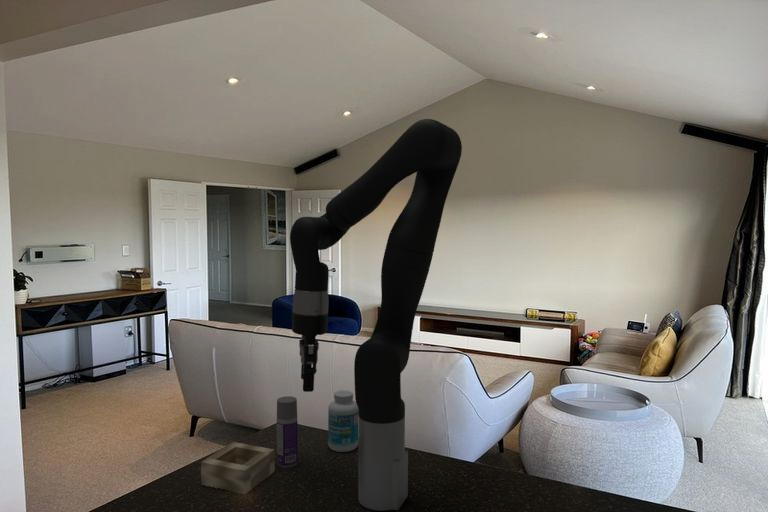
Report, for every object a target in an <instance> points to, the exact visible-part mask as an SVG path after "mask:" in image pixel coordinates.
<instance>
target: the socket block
mask: <svg viewBox="0 0 768 512" xmlns="http://www.w3.org/2000/svg"><path fill="white" fill-rule="evenodd" d="M275 451H276V450H275V449H274V448H268V447H262V446H257V445H251V444H247V443H243V442H241V443H240V442H236V441H232V442H231V443H229V444H227V445H226V446H225V447H223V448H221V449H220V450H218V451H216V452H214V453H213V454H212V455H210V456H208V457H207V458H205V459H203V460H201V461H200V475H201V476H200V480H201V481H200V482H201V483H200V484H201V486H204V485H205V487H209V486H210V487H211V488H213V487H214V488H213V489H218V488H220V489H219V490H222V489H225V490H224V491H227V490H228V492H231V491H232V492H233V493H236V492H237V493H236V494H240V493H241V494H240V495H247V494H248V493H249V492H250V491H252V490H253V489H254V488H256V487H257V486H258V485H260V484H261V483H262V482H263V481H265V480H266V479H267V478H269V477H270V476H271V475H272V474H273V473H275V471H276V468H275V467H276V463H275V460H276V459H275V458H276V457H275V454H276V453H275ZM265 478H266V479H265ZM260 482H261V483H260ZM210 487H209V488H210ZM232 492H231V493H232Z"/></svg>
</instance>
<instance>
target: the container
mask: <svg viewBox="0 0 768 512" xmlns="http://www.w3.org/2000/svg"><path fill="white" fill-rule="evenodd" d="M297 400H298V399H297V397H295V396H290V395H289V396H287V395H286V396H282V397H279V398H277V399H276V465H277V467H279V468H283V469H290V468H293V467H296V466H297V465H298V462H299V457H298V451H299V450H298V449H299V448H298V447H299V446H298V445H299V444H298V441H299V439H298V437H299V435H298V401H297Z"/></svg>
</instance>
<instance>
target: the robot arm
mask: <svg viewBox="0 0 768 512" xmlns="http://www.w3.org/2000/svg"><path fill="white" fill-rule="evenodd" d="M462 151H463V146H462V140H461V137H460V135H459V134H458V132H457V131H456V130H455V129H453V128H452V127H450V126H448V125H446V124H444V123H442V122H441V121H439V120H436V119H432V118H422V119H420V120H418V121H416V122H414V123H413V124H412V125H410V126H409V127H408V128H407V129H406V130H405V131H404V132H403V133H402V134H401V136H399V137H398V139H397V140H396V141H395V142H394V143H393V144H392V145H391V146H390V148H388V149H387V150H386V151H385V153H384V154H382V155H381V157H379V158H378V160H376V162H375V163H374V164H373V165H371V166H370V168H368V169H367V170H366V171H365V172H364V173H363V174H362V175H361V176H360V177H358V178H357V179H355V181H353V182H352V183H351V184H350V185H348V186H347V187H346V188H344V189H343V190H342V191H340V192H339V193H338V194H337V195H335V196H334V197H333V198H332V199H330V200H329V201H328V203H327V204H326V206H325V212H324V214H322V215H320V216H318V217H317V216H301V217H299V218H297V219H296V220H295V221H294V223H293V224H292V226H291V229H290V233H289V242H290V243H289V244H290V249H291V255H292V259H293V263H294V268H295V279H294V292H293V293H294V294H293V299H292V317H291V323H292V324H291V331H292V333H294V334H296V335H301V339H299V343H298V344H299V345H298V346H299V347H298V348H299V356H300V364H301V366H300V367H301V369H300V370H301V371H300V372H301V373H300V378H301V380H302V391H303V392H304V393H307V392H308V393H312V392H314V389H315V388H314V387H315V375H316V374H317V372H318V370H317V364H318V360H319V359H318V358H319V357H318V351H319V350H320V349H319V348H320V345H319V341H318V339H316V338H317V337H316V336H322V335H325V334H326V333H327V332H328V323H329V322H328V319H329V318H328V317H329V303H330V302H329V300H330V299H329V278H330V273H329V271H330V270H329V266H328V265H327V264H326V263H325V262H322V261H321V258H320V253H319V251H325V250H327V249H329V248H331V247H333V246H334V245H336V244H337V243H338V242H339V241H340V240H341V239H342V238H343V237H345V235H346V234H347V233H348V231H349V230H350V229H351V228H352V227H353V226H355V225H357V224H358V223H360V222H361V221H362V220H364V219H365V218H367V217H368V216H369V215H370V214H371V213H373V212H374V211H375V210H376V209H378V207H379V206H380V205H381V204H382V203H383V201H384V200H385V198H386V197H387V195H388V194H389V193H390V192H391V190H393V188H394V187H395V186H397V185H398V184H399V183H400V182H403V180H404V179H407V178H408V177H409V176H412V175H413V174H416V175H415V178H414V183H413V188H412V191H411V194H410V197H409V199H408V201H407V202H406V204H405V206H404V207H403V209H402V210H401V212H400V214H399V216H398V217H397V219H396V220H395V222H394V224H393V225H392V227H391V230H390V231H389V234H388V238H387V242H386V245H385V249H384V252H383V253H384V254H383V258H382V263H381V269H380V271H381V275H380V285H381V286H380V289H381V300H380V308H379V313H378V316H377V320H376V323H375V326H374V329H373V331H372V334H371V336H370V338H369V339H367V340H365V341H364V342H362V344H360V345H359V347H358V348H357V350H356V353H355V356H354V362H353V363H354V368H353V370H354V373H353V374H354V375H353V376H354V377H353V378H354V397H355V398H354V399H355V402H356V404H357V406H358V411H359V421H358V463H357V464H358V469H357V470H358V473H357V474H358V489H357V490H358V502H359V504H360V505H361V506H362V507H364V508H366V509H368V510H372V511H379V512H381V511H383V512H386V511H392V510H393V511H399V510H400V508H401V507H402V505H403V504H404V503H405V501H406V499H407V498H408V496H409V494H408V492H409V489H408V488H409V485H408V484H409V483H408V482H409V451H408V450H406V448H405V447H406V444H405V442H406V441H405V440H406V436H405V434H406V433H405V432H406V425H405V424H406V403H405V401H404V400H403V398H402V392H401V390H402V387H401V382H402V381H401V380H402V379H401V378H402V377H401V376H402V374H401V373H402V372H403V371H404V370H405V369H406V366H407V365H408V362H409V358H410V352H411V342H412V337H413V331H414V330H413V329H414V322H415V319H416V318H415V317H416V313H417V310H418V307H419V304H420V301H421V298H422V296H423V292H424V290H425V289H424V288H425V285H426V282H427V279H428V276H429V275H428V274H429V273H430V268H431V263H432V259H433V255H434V251H435V247H436V242H437V237H438V234H439V229H440V226H441V221H442V217H443V212H444V208H445V205H446V201H447V197H448V194H449V191H450V188H451V186H452V183H453V180H454V177H455V175H456V172H457V170H458V167H459V164H460V161H461V156H462V153H463V152H462Z"/></svg>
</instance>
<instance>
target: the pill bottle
mask: <svg viewBox="0 0 768 512" xmlns="http://www.w3.org/2000/svg"><path fill="white" fill-rule="evenodd" d="M333 399H334V400H332V401H330V403H329V405H328V409H327V410H328V411H327V412H328V415H327V416H328V418H327V420H328V426H327V427H328V429H327V431H328V432H327V435H328V437H327V441H328V442H327V446H328V447H329V449H330V450H332V451H333V452H337V453H347V452H351V451H354V450H356V448H358V447H359V411H358V406H357V404H356V400H354V392H353V391H350V390H337V391H335V392H334V394H333Z"/></svg>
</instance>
